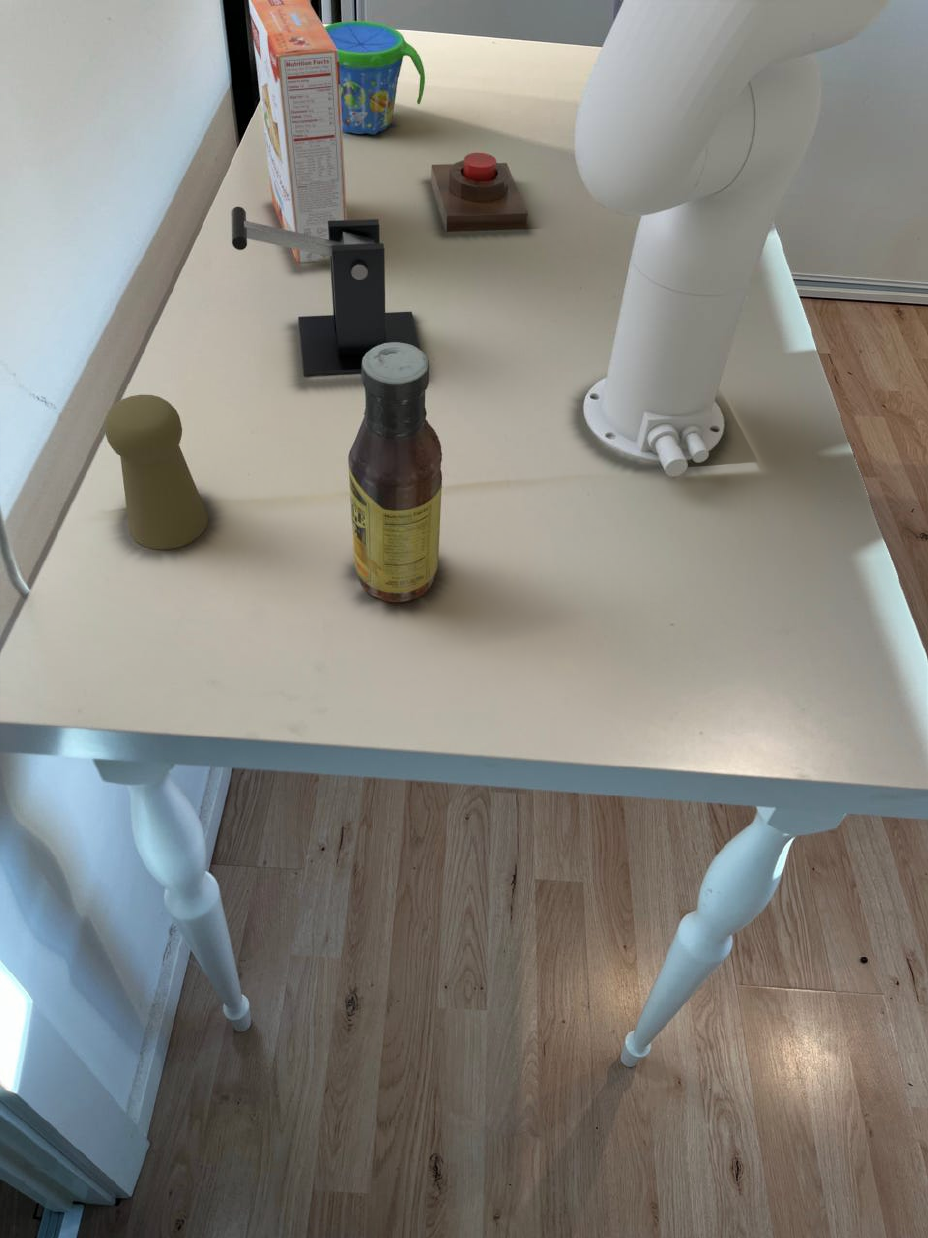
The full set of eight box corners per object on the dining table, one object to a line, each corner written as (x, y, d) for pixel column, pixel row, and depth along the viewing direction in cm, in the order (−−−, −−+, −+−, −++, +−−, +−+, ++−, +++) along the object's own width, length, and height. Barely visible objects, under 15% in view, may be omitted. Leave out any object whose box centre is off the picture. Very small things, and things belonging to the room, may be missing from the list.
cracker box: (269, 206, 106) (245, -7, 90) (321, 201, 107) (308, -10, 91) (294, 272, 98) (273, 50, 81) (351, 265, 99) (341, 45, 83)
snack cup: (431, 115, 123) (433, 28, 115) (412, 151, 116) (413, 61, 109) (316, 99, 125) (311, 12, 117) (291, 133, 118) (283, 43, 110)
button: (497, 182, 105) (499, 166, 103) (465, 183, 104) (466, 167, 103) (491, 167, 107) (493, 151, 106) (460, 168, 106) (461, 152, 105)
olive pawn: (207, 492, 76) (183, 379, 68) (207, 546, 72) (182, 433, 64) (130, 498, 75) (96, 384, 67) (126, 552, 72) (89, 439, 63)
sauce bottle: (362, 543, 73) (353, 318, 58) (442, 551, 73) (453, 329, 58) (347, 606, 69) (332, 383, 54) (431, 616, 69) (440, 394, 54)
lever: (229, 255, 77) (234, 228, 76) (229, 224, 80) (233, 197, 79) (371, 285, 81) (378, 260, 80) (365, 254, 85) (372, 230, 83)
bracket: (304, 384, 86) (293, 264, 77) (299, 328, 91) (287, 210, 82) (424, 377, 87) (426, 259, 78) (411, 322, 93) (412, 206, 84)
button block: (525, 232, 105) (529, 197, 102) (446, 234, 104) (447, 199, 101) (505, 180, 113) (508, 146, 110) (431, 182, 111) (431, 148, 108)
